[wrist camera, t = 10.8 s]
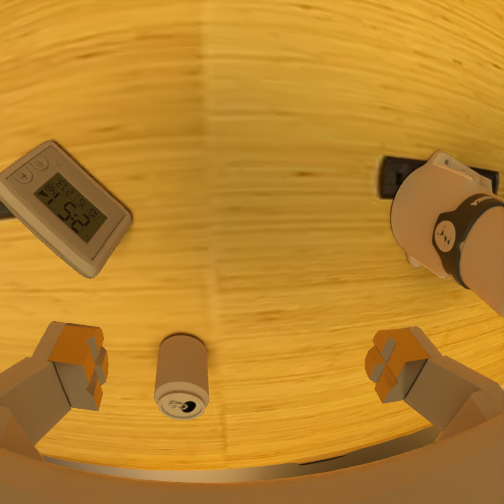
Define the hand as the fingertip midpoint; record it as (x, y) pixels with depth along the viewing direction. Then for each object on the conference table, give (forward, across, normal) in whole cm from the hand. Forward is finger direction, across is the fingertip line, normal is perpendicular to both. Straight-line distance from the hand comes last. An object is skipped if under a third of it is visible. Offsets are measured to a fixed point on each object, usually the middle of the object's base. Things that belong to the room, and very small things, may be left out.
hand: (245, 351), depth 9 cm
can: (+32, +3, +29) cm, 43 cm away
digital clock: (+32, +17, +4) cm, 36 cm away
